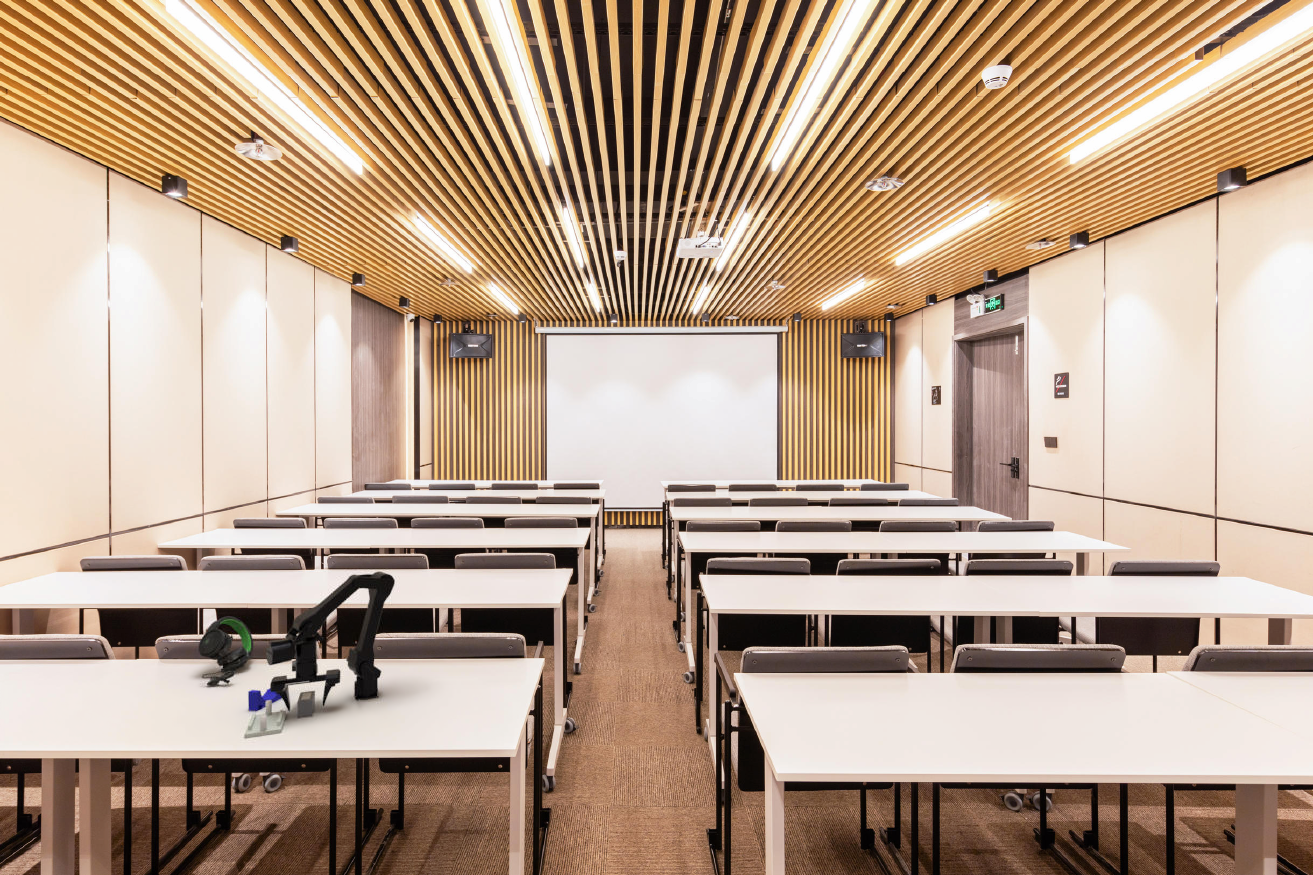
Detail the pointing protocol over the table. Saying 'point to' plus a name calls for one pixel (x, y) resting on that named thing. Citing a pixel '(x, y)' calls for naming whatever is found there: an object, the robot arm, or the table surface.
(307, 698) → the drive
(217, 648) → the headset
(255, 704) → the cable clip
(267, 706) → the pegged rail plate
